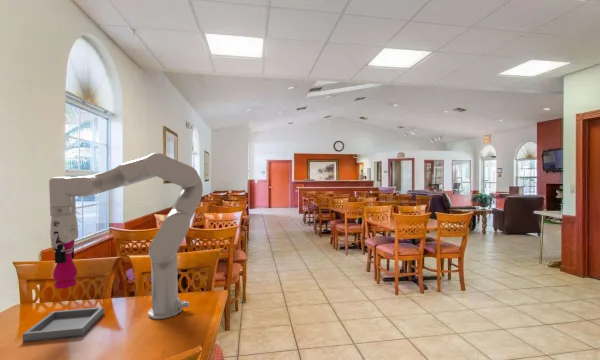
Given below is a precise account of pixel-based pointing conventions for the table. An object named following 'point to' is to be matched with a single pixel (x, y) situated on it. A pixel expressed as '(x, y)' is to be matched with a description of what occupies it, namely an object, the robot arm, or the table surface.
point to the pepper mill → (65, 269)
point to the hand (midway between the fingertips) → (64, 260)
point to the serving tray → (64, 324)
